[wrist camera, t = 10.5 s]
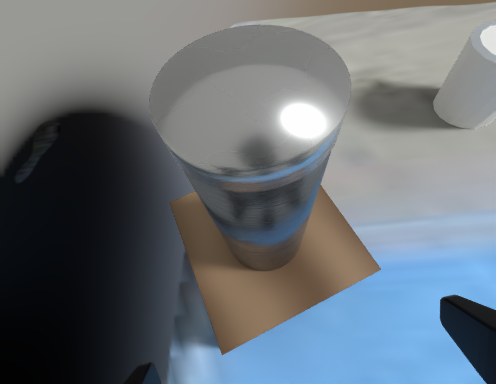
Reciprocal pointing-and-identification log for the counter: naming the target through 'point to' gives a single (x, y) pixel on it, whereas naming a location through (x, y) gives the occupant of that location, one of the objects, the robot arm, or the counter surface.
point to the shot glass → (471, 82)
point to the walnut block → (269, 282)
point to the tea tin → (254, 131)
